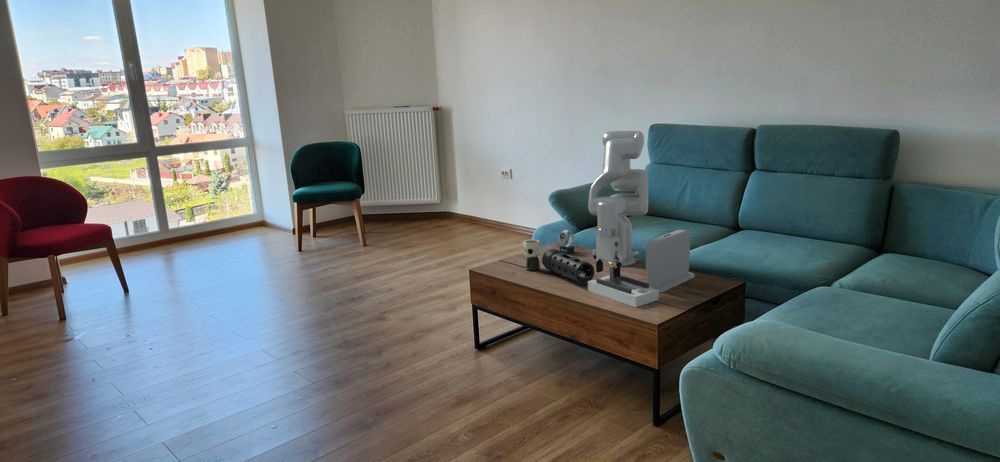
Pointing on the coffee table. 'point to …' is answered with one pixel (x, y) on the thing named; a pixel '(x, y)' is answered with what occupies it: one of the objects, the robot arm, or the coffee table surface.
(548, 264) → the muzzle brake
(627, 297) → the breaker panel
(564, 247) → the watch
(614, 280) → the toggle
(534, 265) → the character mug
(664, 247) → the wireless router
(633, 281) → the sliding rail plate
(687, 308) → the coffee table surface
